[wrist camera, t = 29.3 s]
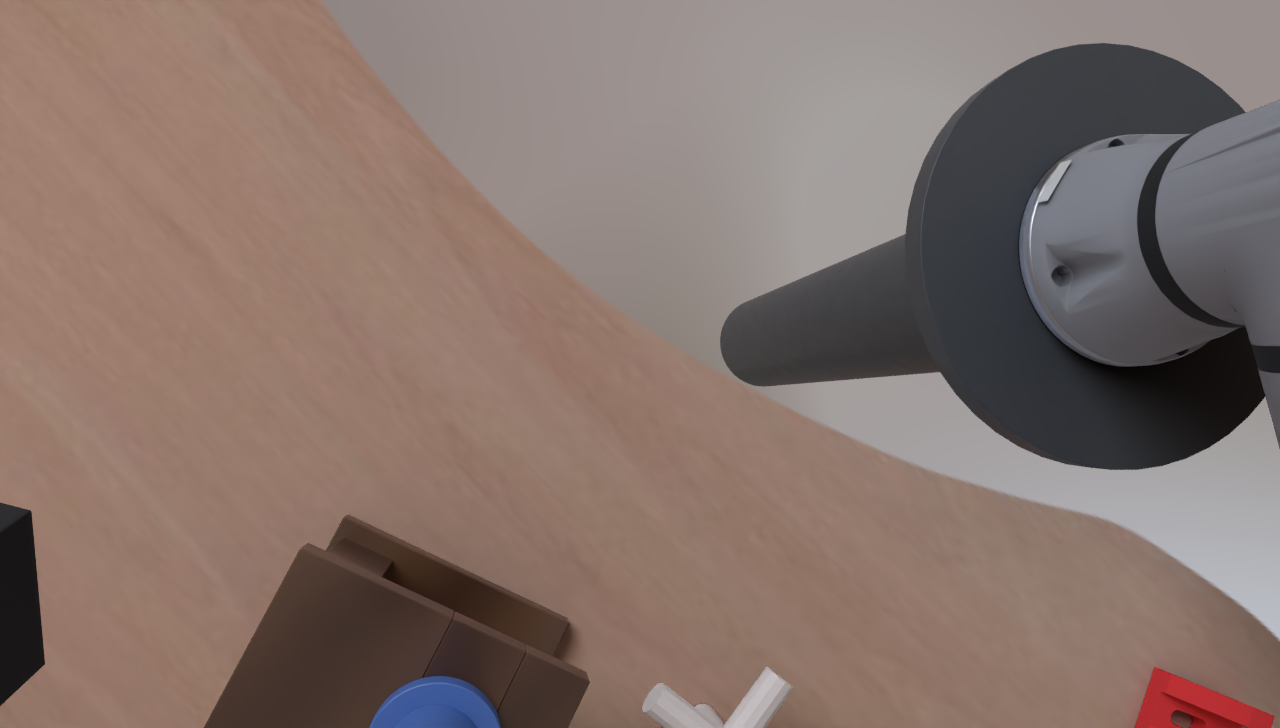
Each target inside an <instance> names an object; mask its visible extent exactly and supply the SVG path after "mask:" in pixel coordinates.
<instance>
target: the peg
mask: <svg viewBox="0 0 1280 728" xmlns="http://www.w3.org/2000/svg"><path fill="white" fill-rule="evenodd" d="M369 728H502V726H501V722H500V718H499V716H498V713H497V711H496V709H495V707H494V706H493V704H492V702H491V701H490V700H489V699H488V697H487V696H486V695H485V694H484V693H483V692H482V691H481V690H479V689H478V688H476V687H475V686H474V685H472V684H470V683H468V682H466V681H463V680H461V679H458V678H453V677H447V676H431V677H425V678H421V679H418V680H415V681H412V682H410V683H408V684H406V685H404V686H403V687H401V688H399V689H398V690H396V691H395V692H394V693H393V694H391V695H390V696H389V697H388V698H387V699H386V700H385V701H384V703H383V704H382V705H381V706H380V708H379V709H378V711H377V712H376V714H375V716H374V718H373V720H372V722H371V724H370V727H369Z"/></svg>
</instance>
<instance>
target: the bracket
mask: <svg viewBox="0 0 1280 728" xmlns="http://www.w3.org/2000/svg"><path fill="white" fill-rule="evenodd" d="M1175 710H1180V711H1183V712H1185V713H1188V714H1190V715H1191V716H1192V718H1193V724H1192V726H1191V727H1190V728H1242V725H1244V726H1246V727H1248V728H1271V727H1272V723H1273V720H1274V717H1275V716H1273V715H1271V714H1268V713H1266V712H1263V711H1261V710H1259V709H1256V708H1254V707H1251V706H1249V705H1246V704H1244V703H1242V702H1239V701H1237V700H1234V699H1232V698H1229V697H1227V696H1225V695H1222V694H1220V693H1217V692H1215V691H1212V690H1210V689H1208V688H1205V687H1203V686H1200V685H1198V684H1195V683H1193V682H1191V681H1188V680H1186V679H1183V678H1181V677H1178V676H1176V675H1173V674H1171V673H1168V672H1166V671H1163V670H1161V669H1158V668H1156V667H1155V668H1154V671H1153V674H1152V677H1151V680H1150V683H1149V686H1148V689H1147V692H1146V695H1145V698H1144V701H1143V704H1142V707H1141V711H1140V714H1139V717H1138V720H1137V723H1136V726H1135V728H1182V727H1180V726H1178V725H1175V724H1173V723H1172V721H1171V715H1172V713H1173V712H1174V711H1175Z"/></svg>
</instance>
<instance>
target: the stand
mask: <svg viewBox="0 0 1280 728" xmlns="http://www.w3.org/2000/svg"><path fill="white" fill-rule="evenodd" d="M568 625H569V622H568V619H567V618H566V617H564V616H562V615H560V614H558V613H555V612H553V611H551V610H549V609H547V608H545V607H543V606H541V605H538V604H536V603H534V602H532V601H530V600H528V599H526V598H524V597H522V596H519V595H517V594H515V593H513V592H511V591H509V590H507V589H505V588H502V587H500V586H498V585H496V584H494V583H492V582H490V581H488V580H485V579H483V578H481V577H479V576H477V575H475V574H473V573H471V572H469V571H466V570H464V569H462V568H460V567H458V566H456V565H454V564H452V563H449V562H447V561H445V560H443V559H441V558H439V557H437V556H435V555H433V554H430V553H428V552H426V551H424V550H422V549H420V548H418V547H416V546H413V545H411V544H409V543H407V542H405V541H403V540H401V539H399V538H397V537H394V536H392V535H390V534H388V533H386V532H384V531H382V530H380V529H377V528H375V527H373V526H371V525H369V524H367V523H365V522H363V521H360V520H358V519H356V518H354V517H352V516H350V515H347V516H345V517H344V518H343V520H342V521H341V523H340V525H339V527H338V529H337V531H336V533H335V535H334V536H333V538H332V540H331V542H330V544H329V546H328V548H327V550H326V551H325V550H322V549H320V548H318V547H316V546H314V545H312V544H309V543H307V544H306V545H305V546H303V547H302V548H301V549H300V550H299V552H298V554H297V555H296V557H295V559H294V561H293V563H292V565H291V567H290V568H289V570H288V572H287V574H286V576H285V578H284V580H283V581H282V583H281V585H280V587H279V589H278V591H277V593H276V594H275V596H274V598H273V600H272V602H271V604H270V606H269V607H268V609H267V611H266V613H265V615H264V617H263V619H262V620H261V622H260V624H259V626H258V628H257V630H256V632H255V633H254V635H253V637H252V639H251V641H250V643H249V645H248V646H247V648H246V650H245V652H244V654H243V656H242V658H241V659H240V661H239V663H238V665H237V667H236V669H235V671H234V672H233V674H232V676H231V678H230V680H229V682H228V684H227V685H226V687H225V689H224V691H223V693H222V695H221V697H220V698H219V700H218V702H217V704H216V706H215V708H214V710H213V711H212V713H211V715H210V717H209V719H208V721H207V723H206V724H205V726H204V728H369V727H370V724H371V722H372V720H373V718H374V716H375V714H376V712H377V711H378V709H379V708H380V706H381V705H382V704H383V703H384V701H385V700H386V699H387V698H388V697H389V696H390V695H391V694H393V693H394V692H395V691H396V690H398V689H399V688H401V687H403V686H404V685H406V684H408V683H410V682H412V681H415V680H418V679H421V678H425V677H431V676H447V677H453V678H458V679H461V680H463V681H466V682H468V683H470V684H472V685H474V686H475V687H476V688H478V689H479V690H481V691H482V692H483V693H484V694H485V695H486V696H487V697H488V699H489V700H490V701H491V702H492V704H493V706H494V707H495V709H496V711H497V713H498V716H499V718H500V722H501V726H502V728H568V727H569V725H570V722H571V720H572V718H573V716H574V714H575V712H576V710H577V708H578V706H579V704H580V702H581V700H582V698H583V696H584V694H585V691H586V689H587V687H588V685H589V683H590V682H589V679H588V676H587V673H586V672H585V671H583V670H581V669H578V668H576V667H574V666H572V665H570V664H568V663H565V662H563V661H561V660H559V659H557V658H555V657H553V655H554V653H555V651H556V649H557V647H558V645H559V643H560V641H561V639H562V637H563V635H564V633H565V631H566V629H567V627H568Z"/></svg>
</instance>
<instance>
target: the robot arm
mask: <svg viewBox="0 0 1280 728" xmlns="http://www.w3.org/2000/svg"><path fill="white" fill-rule="evenodd" d="M1018 256H1019V266H1020V271H1021V276H1022V280H1023V284H1024V287H1025V290H1026V292H1027V295H1028V298H1029V300H1030V302H1031V304H1032V306H1033V308H1034V310H1035V311H1036V313H1037V315H1038V316H1039V318H1040V319H1041V321H1042V322H1043V323H1044V325H1045V326H1046V327H1047V328H1048V330H1049V331H1050V332H1051V333H1052V334H1053V335H1054V336H1055V337H1056V338H1057V339H1058V340H1059V341H1060V342H1062V343H1063V344H1064V345H1065V346H1067V347H1068V348H1069V349H1071V350H1072V351H1074V352H1076V353H1077V354H1079V355H1081V356H1083V357H1085V358H1087V359H1090V360H1092V361H1095V362H1098V363H1102V364H1105V365H1111V366H1119V367H1132V366H1146V365H1155V364H1160V363H1164V362H1167V361H1171V360H1175V359H1178V358H1180V357H1183V356H1185V355H1188V354H1190V353H1192V352H1194V351H1195V350H1197V349H1199V348H1201V347H1202V346H1204V345H1205V344H1207V343H1208V342H1209V341H1210V340H1212V339H1215V338H1219V337H1221V336H1224V335H1226V334H1228V333H1230V332H1232V331H1234V330H1236V329H1238V328H1239V327H1246V329H1247V332H1248V336H1249V340H1250V343H1251V346H1252V349H1253V353H1254V356H1255V360H1256V363H1257V368H1258V371H1259V375H1260V378H1261V382H1262V385H1263V389H1264V393H1265V396H1266V400H1267V403H1268V407H1269V410H1270V414H1271V417H1272V421H1273V425H1274V429H1275V432H1276V436H1277V440H1278V443H1279V447H1280V100H1277V101H1275V102H1272V103H1269V104H1267V105H1264V106H1262V107H1259V108H1257V109H1254V110H1251V111H1249V112H1246V113H1243V114H1241V115H1238V116H1236V117H1233V118H1230V119H1228V120H1225V121H1222V122H1220V123H1217V124H1215V125H1212V126H1209V127H1207V128H1205V129H1202V130H1200V131H1197V132H1195V133H1192V134H1132V135H1121V136H1116V137H1112V138H1107V139H1103V140H1099V141H1097V142H1094V143H1091V144H1089V145H1086V146H1084V147H1082V148H1080V149H1077V150H1075V151H1073V152H1071V153H1069V154H1068V155H1066V156H1065V157H1063V158H1062V159H1060V160H1059V161H1058V162H1056V163H1055V164H1054V165H1053V166H1052V167H1051V168H1050V169H1049V170H1048V171H1047V172H1046V173H1045V174H1044V175H1043V176H1042V178H1041V179H1040V180H1039V181H1038V183H1037V184H1036V186H1035V188H1034V189H1033V191H1032V193H1031V195H1030V197H1029V199H1028V201H1027V204H1026V206H1025V209H1024V212H1023V215H1022V219H1021V224H1020V229H1019V239H1018ZM44 664H45V660H44V649H43V637H42V626H41V615H40V604H39V592H38V581H37V570H36V558H35V547H34V536H33V525H32V513H31V511H30V510H26V509H22V508H19V507H15V506H11V505H7V504H3V503H0V706H1V705H2V704H3V703H4V702H5V701H6V700H7V699H8V698H9V697H10V696H11V695H12V694H13V693H14V692H16V691H17V690H18V689H19V688H20V687H21V686H22V685H23V684H24V683H25V682H26V681H27V680H28V679H29V678H31V677H32V676H33V675H34V674H35V673H36V672H37V671H38V670H39V669H40V668H41V667H42V666H43V665H44Z"/></svg>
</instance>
